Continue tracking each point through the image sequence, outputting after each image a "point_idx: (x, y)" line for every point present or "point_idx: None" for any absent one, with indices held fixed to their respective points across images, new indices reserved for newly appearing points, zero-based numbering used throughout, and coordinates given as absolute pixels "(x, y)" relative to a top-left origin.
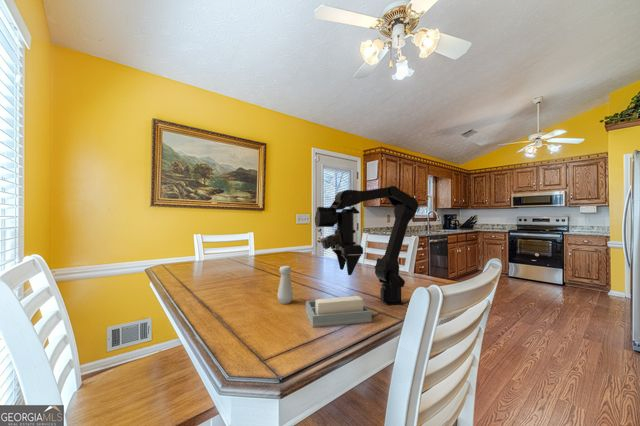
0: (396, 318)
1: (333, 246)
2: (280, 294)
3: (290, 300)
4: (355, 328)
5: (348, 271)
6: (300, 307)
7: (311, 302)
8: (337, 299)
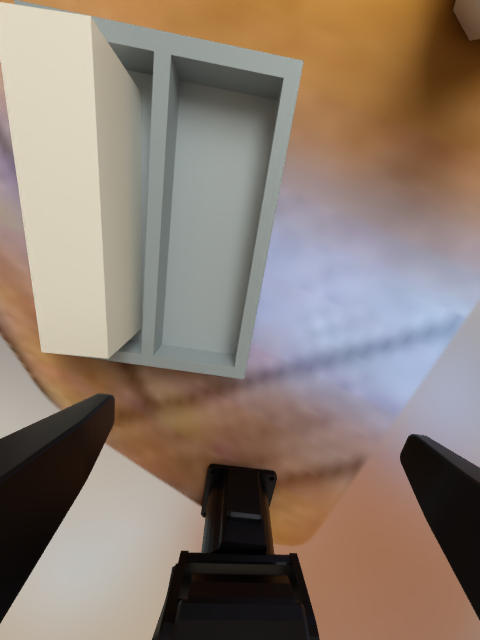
0: None
1: None
2: None
3: (466, 14)
4: (22, 247)
5: (55, 418)
6: (347, 76)
7: (279, 105)
8: (63, 202)
